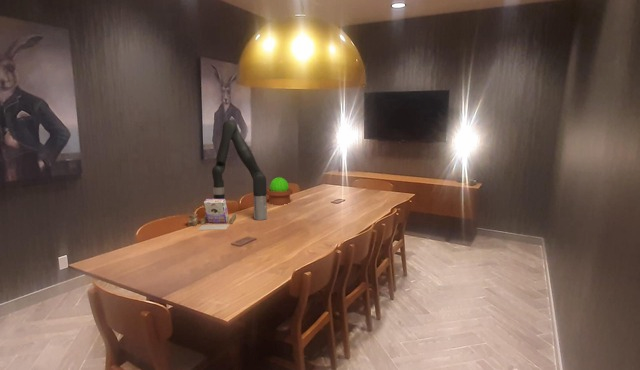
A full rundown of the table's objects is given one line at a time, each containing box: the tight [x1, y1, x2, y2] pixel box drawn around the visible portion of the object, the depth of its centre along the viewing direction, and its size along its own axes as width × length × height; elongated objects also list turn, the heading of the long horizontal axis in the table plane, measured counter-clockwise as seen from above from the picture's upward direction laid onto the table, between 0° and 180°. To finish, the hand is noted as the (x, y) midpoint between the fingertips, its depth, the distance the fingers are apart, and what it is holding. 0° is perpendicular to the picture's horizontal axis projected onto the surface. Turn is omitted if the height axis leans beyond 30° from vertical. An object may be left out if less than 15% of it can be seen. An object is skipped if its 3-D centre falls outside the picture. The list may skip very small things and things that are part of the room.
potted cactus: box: [266, 176, 293, 206], centre depth 311 cm, size 22×22×25 cm
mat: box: [197, 224, 230, 231], centre depth 236 cm, size 18×12×1 cm, turn 94°
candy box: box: [203, 198, 230, 224], centre depth 247 cm, size 14×6×16 cm, turn 84°
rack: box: [200, 213, 237, 226], centre depth 254 cm, size 21×17×4 cm
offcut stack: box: [187, 213, 200, 227], centre depth 244 cm, size 5×8×7 cm, turn 4°
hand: (219, 217), depth 257 cm, fingers closed
